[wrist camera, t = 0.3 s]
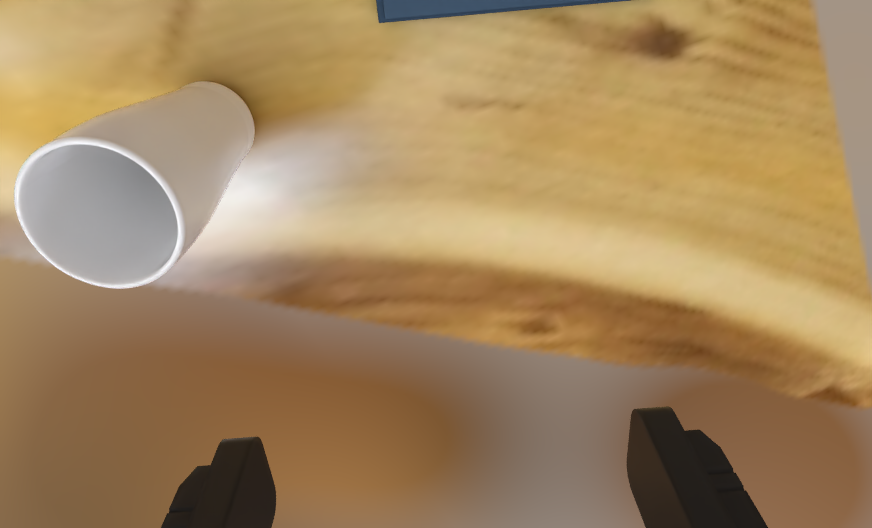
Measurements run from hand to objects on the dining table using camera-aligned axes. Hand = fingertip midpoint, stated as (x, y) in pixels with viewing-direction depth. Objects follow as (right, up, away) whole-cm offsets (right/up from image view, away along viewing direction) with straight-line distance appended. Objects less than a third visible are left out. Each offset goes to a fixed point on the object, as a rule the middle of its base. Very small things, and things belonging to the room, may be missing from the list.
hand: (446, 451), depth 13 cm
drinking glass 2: (-14, +13, +25) cm, 31 cm away
